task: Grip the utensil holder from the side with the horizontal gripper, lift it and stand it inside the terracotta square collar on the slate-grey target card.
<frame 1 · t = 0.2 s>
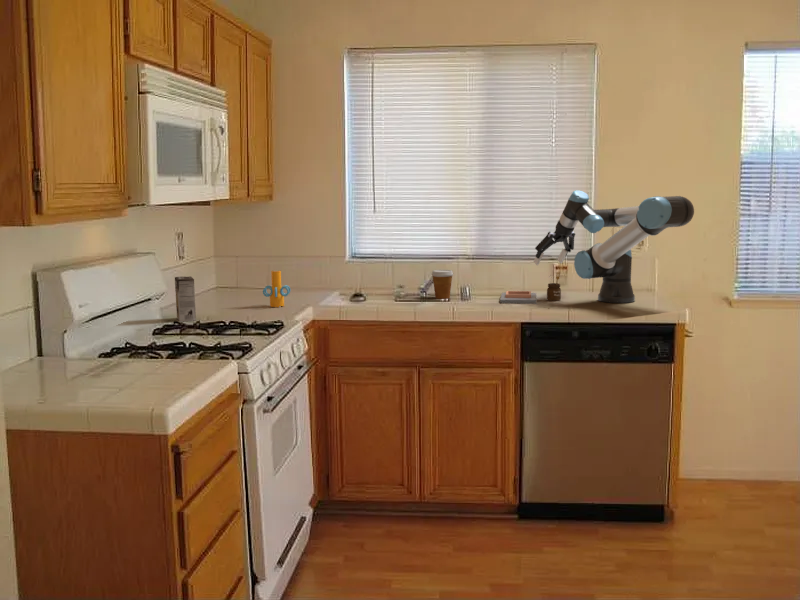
hand: (547, 262, 385), 15 cm above the countertop, tool tilted 35°, fingers open, 13 cm apart
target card: (518, 299, 377), on the countertop
utensil holder: (554, 300, 374), on the countertop
disposable coffee cup: (442, 298, 384), on the countertop
cylinder: (277, 306, 366), on the countertop
coffee box: (186, 319, 336), on the countertop
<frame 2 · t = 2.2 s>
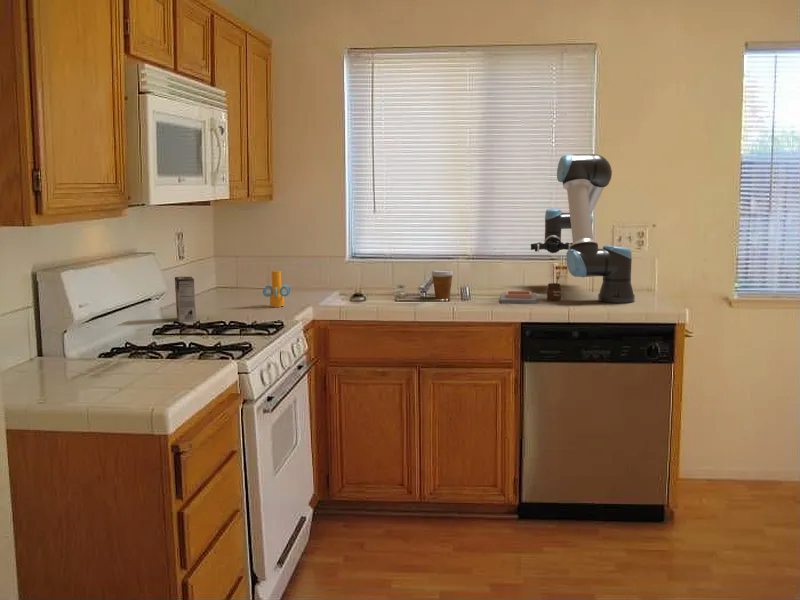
hand: (554, 248, 381), 21 cm above the countertop, tool horizontal, fingers open, 13 cm apart
nothing on the countertop moved.
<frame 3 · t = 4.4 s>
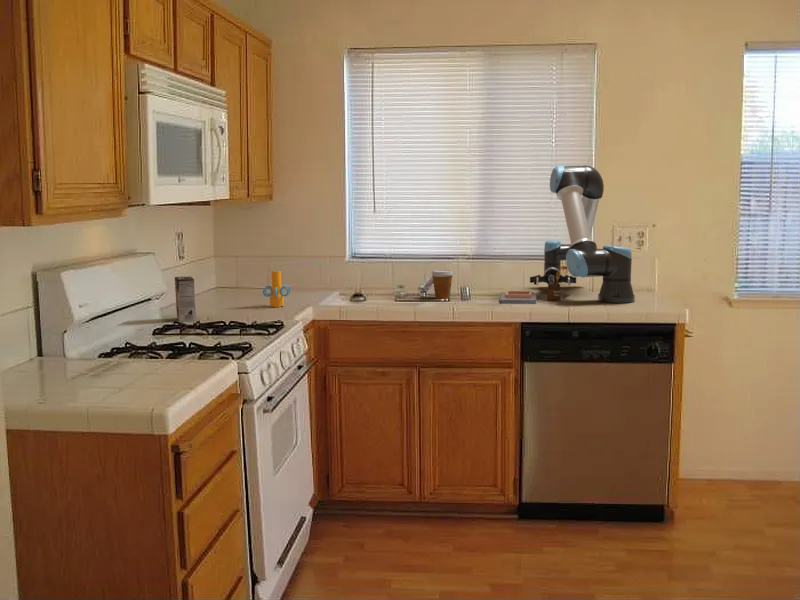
hand: (553, 282, 379), 7 cm above the countertop, tool horizontal, fingers open, 13 cm apart
nothing on the countertop moved.
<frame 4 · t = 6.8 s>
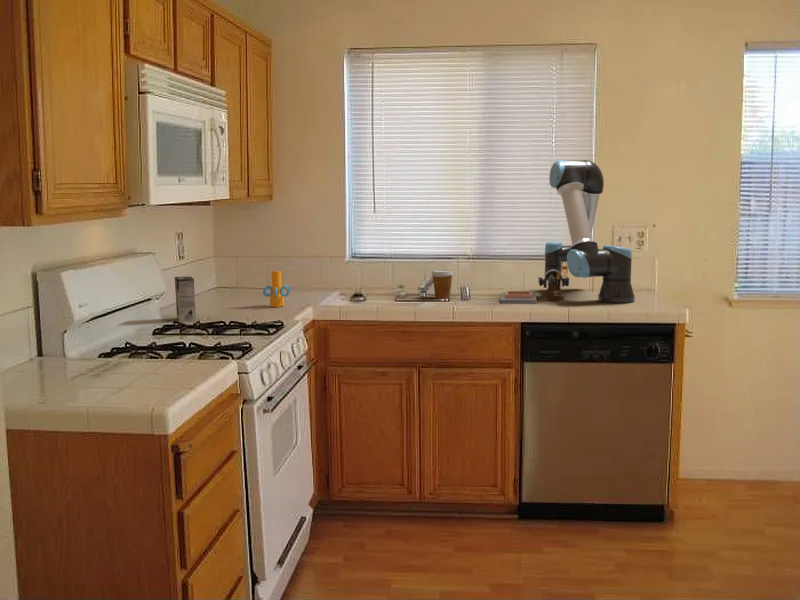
hand: (554, 285, 368), 7 cm above the countertop, tool horizontal, fingers closed on utensil holder, 5 cm apart
utensil holder: (554, 300, 374), on the countertop, touching gripper
everything else where it was.
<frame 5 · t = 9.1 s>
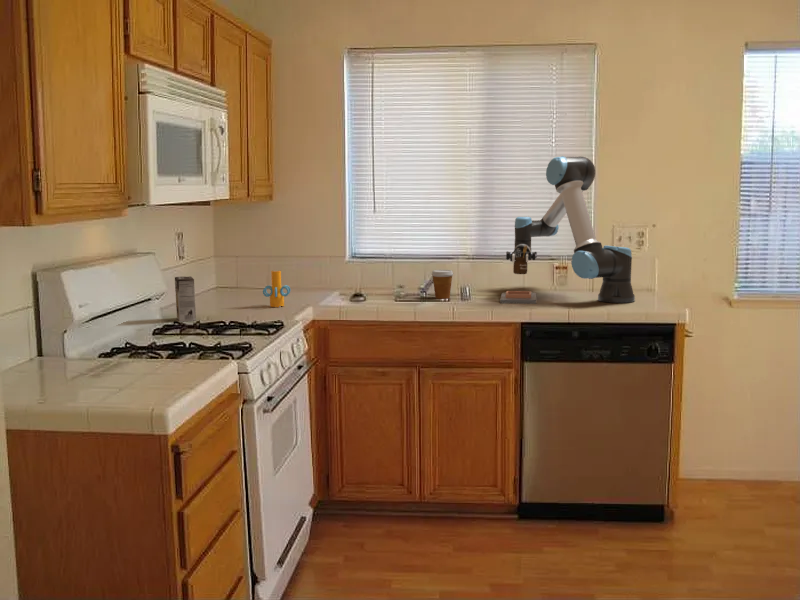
hand: (520, 258, 369), 18 cm above the countertop, tool horizontal, fingers closed on utensil holder, 5 cm apart
utensil holder: (520, 273, 376), point 11 cm above the countertop, touching gripper
everything else where it was.
when the fingers open (9 cm above the countertop, at t = 11.5 s): utensil holder stays where it is, resting on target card.
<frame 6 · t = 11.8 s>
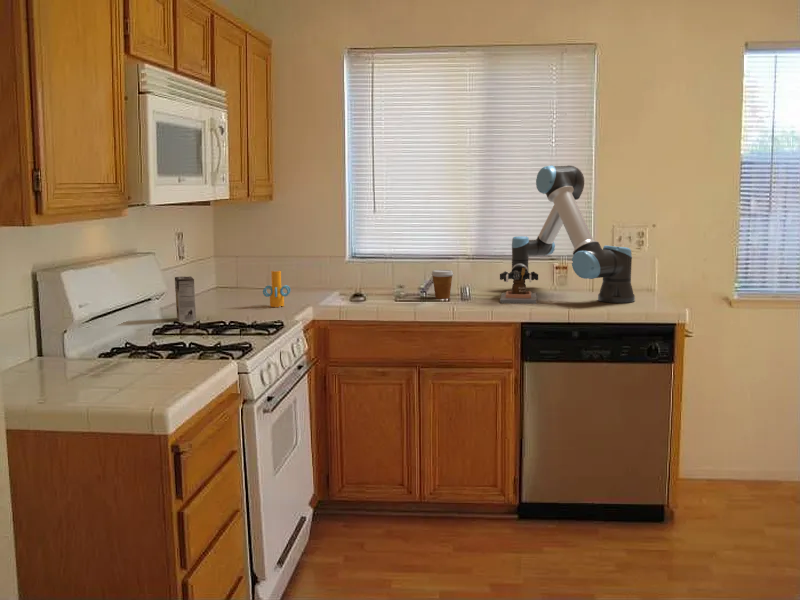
hand: (518, 279, 371), 9 cm above the countertop, tool horizontal, fingers open, 9 cm apart
utensil holder: (519, 296, 376), point 1 cm above the countertop, touching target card
everything else where it was.
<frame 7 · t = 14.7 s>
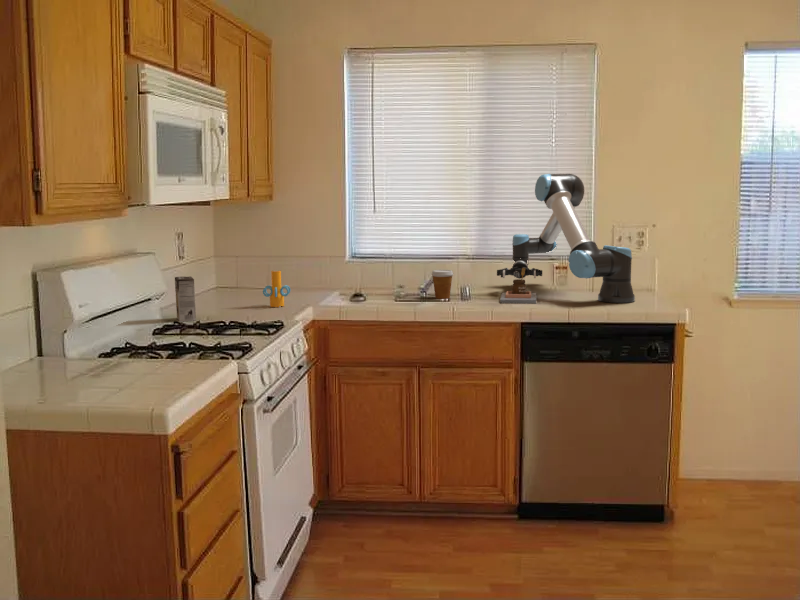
hand: (519, 275, 385), 10 cm above the countertop, tool horizontal, fingers open, 13 cm apart
nothing on the countertop moved.
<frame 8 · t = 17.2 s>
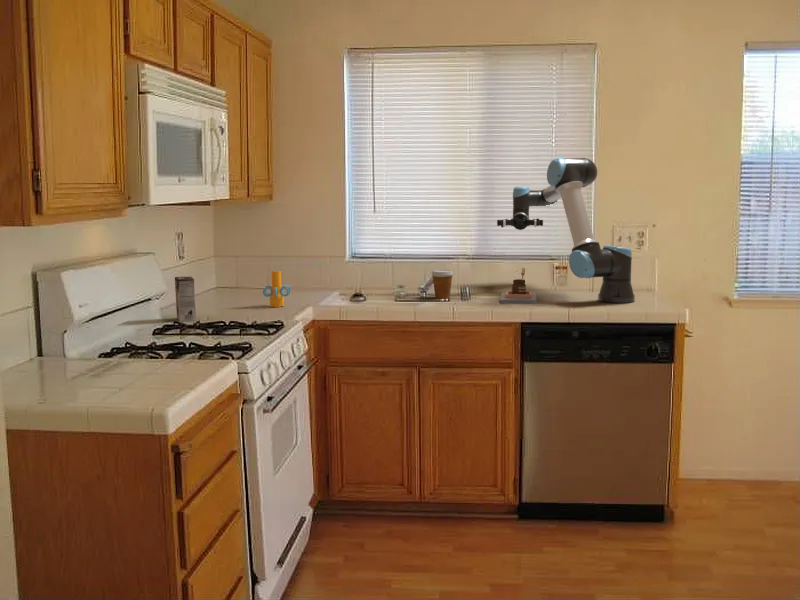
hand: (519, 223, 381), 32 cm above the countertop, tool horizontal, fingers open, 13 cm apart
nothing on the countertop moved.
at the end: utensil holder 0.3 cm off-centre on the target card, point 1.3 cm above the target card's base; utensil holder tilted 0°; the gripper is holding nothing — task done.
